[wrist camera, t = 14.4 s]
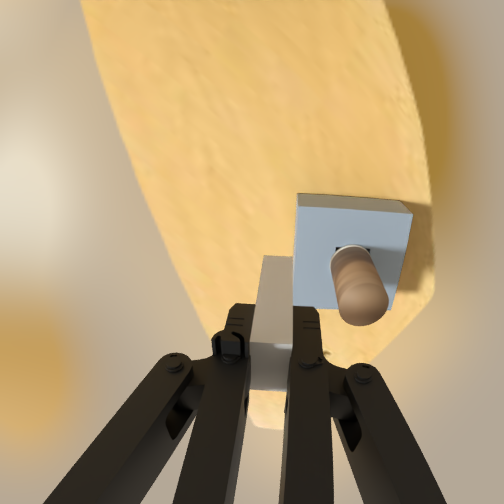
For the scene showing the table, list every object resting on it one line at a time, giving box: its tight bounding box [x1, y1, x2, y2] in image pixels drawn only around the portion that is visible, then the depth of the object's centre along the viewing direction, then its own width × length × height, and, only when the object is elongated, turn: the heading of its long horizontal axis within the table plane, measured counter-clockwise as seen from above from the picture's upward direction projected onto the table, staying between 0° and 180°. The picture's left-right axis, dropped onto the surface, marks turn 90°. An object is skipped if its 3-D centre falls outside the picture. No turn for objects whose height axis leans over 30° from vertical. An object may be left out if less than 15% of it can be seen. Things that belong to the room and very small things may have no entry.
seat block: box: [293, 193, 413, 310], centre depth 46 cm, size 16×16×6 cm
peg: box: [330, 244, 389, 326], centre depth 41 cm, size 6×6×15 cm
